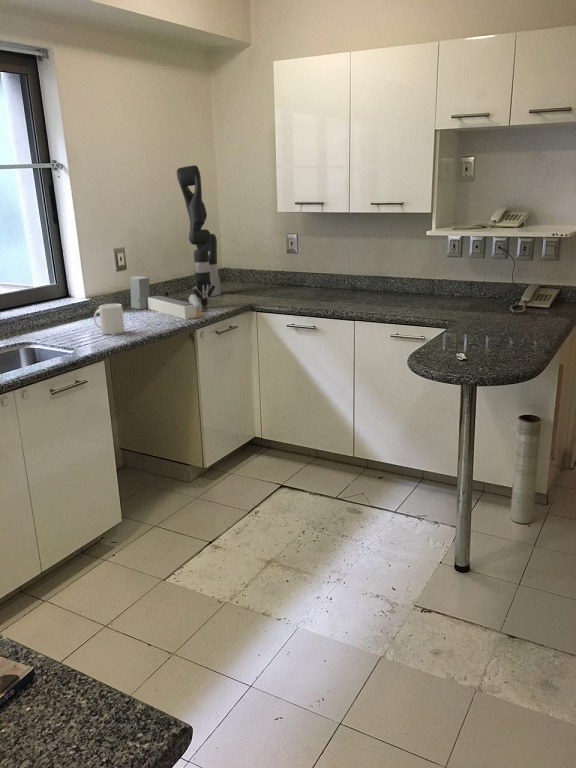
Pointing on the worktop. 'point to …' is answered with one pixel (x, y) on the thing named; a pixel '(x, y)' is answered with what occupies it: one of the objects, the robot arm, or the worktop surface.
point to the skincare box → (139, 292)
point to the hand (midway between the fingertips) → (204, 305)
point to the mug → (110, 318)
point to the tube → (195, 302)
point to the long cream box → (173, 307)
